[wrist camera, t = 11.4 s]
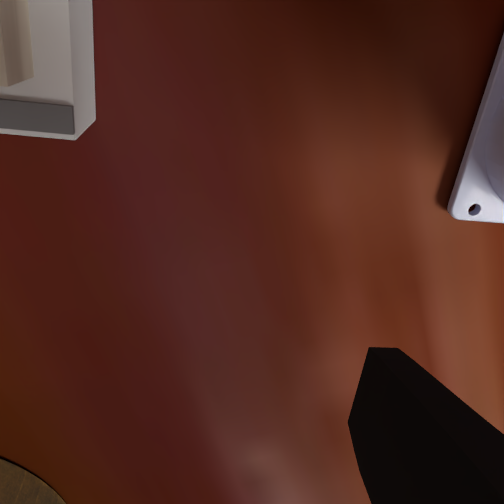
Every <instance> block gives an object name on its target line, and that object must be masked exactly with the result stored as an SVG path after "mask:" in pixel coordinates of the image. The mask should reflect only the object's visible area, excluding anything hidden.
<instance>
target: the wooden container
mask: <svg viewBox="0 0 504 504" xmlns="http://www.w3.org/2000/svg"><path fill="white" fill-rule="evenodd" d="M0 504H66V503H65V502H64V501H63V500H62V498H61V497H60V496H59V495H58V494H57V493H56V492H55V491H54V490H53V489H52V488H51V487H49V486H48V485H47V484H46V483H44V482H43V481H42V480H40V479H39V478H37V477H36V476H34V475H33V474H31V473H29V472H28V471H26V470H24V469H22V468H20V467H18V466H16V465H14V464H12V463H9V462H7V461H5V460H2V459H0Z"/></svg>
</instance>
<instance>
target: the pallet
mask: <svg viewBox="0 0 504 504" xmlns="http://www.w3.org/2000/svg"><path fill="white" fill-rule="evenodd" d="M33 77H34V69H33V57H32V45H31V33H30V21H29V9H28V0H0V86H4V87H9V86H12V85H14V84H17V83H20V82H22V81H25V80H28V79H30V78H33Z"/></svg>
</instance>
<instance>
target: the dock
mask: <svg viewBox="0 0 504 504" xmlns="http://www.w3.org/2000/svg"><path fill="white" fill-rule="evenodd" d="M28 9H29V21H30V33H31V45H32V57H33V69H34V77H33V78H30V79H28V80H25V81H22V82H20V83H17V84H14V85H12V86H9V87H4V86H0V133H3V134H14V135H24V136H35V137H46V138H57V139H68V140H76V139H77V138H78V137H79V136H80V135H81V134H82V133H83V132H84V131H85V130H86V129H87V128H88V127H89V126H90V125H91V124H92V123H93V122H94V121H95V120H96V112H95V79H94V46H93V13H92V0H28Z"/></svg>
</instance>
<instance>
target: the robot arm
mask: <svg viewBox="0 0 504 504" xmlns="http://www.w3.org/2000/svg"><path fill="white" fill-rule="evenodd" d="M473 204H476V207H475V209H474V210H473V211H471V212H468V209H469V208H470V206H472V205H473ZM447 210H448V213H449V214H450V215H451V216H452V217H453V218H455V219H458V220H468V221H481V222H494V223H504V33H503V37H502V40H501V43H500V46H499V49H498V52H497V55H496V58H495V61H494V64H493V67H492V70H491V73H490V77H489V80H488V83H487V86H486V89H485V92H484V95H483V98H482V101H481V104H480V107H479V110H478V113H477V117H476V120H475V123H474V126H473V129H472V132H471V135H470V138H469V141H468V144H467V147H466V150H465V153H464V157H463V160H462V163H461V166H460V169H459V172H458V175H457V178H456V181H455V184H454V187H453V190H452V193H451V197H450V200H449V203H448V207H447ZM348 426H349V430H350V434H351V439H352V443H353V447H354V451H355V455H356V459H357V463H358V467H359V471H360V474H361V476H362V479H363V482H364V485H365V487H366V490H367V493H368V495H369V498H370V501H371V503H372V504H504V434H503V433H501V432H500V431H499V430H497V429H496V428H495V427H494V426H492V425H491V424H490V423H489V422H487V421H486V420H485V419H484V418H483V417H481V416H480V415H479V414H478V413H476V412H475V411H474V410H473V409H472V408H470V407H469V406H468V405H467V404H466V403H464V402H463V401H462V400H461V399H460V398H458V397H457V396H456V395H455V394H454V393H452V392H451V391H450V390H449V389H448V388H446V387H445V386H444V385H443V384H442V383H440V382H439V381H438V380H437V379H436V378H434V377H433V376H432V375H431V374H430V373H429V372H427V371H426V370H425V369H424V368H422V367H421V366H420V365H419V364H418V363H416V362H415V361H414V360H413V359H411V358H410V357H409V356H408V355H406V354H405V353H404V352H402V351H401V350H400V349H398V348H380V347H369V349H368V352H367V356H366V359H365V363H364V366H363V370H362V374H361V377H360V381H359V384H358V388H357V391H356V395H355V398H354V402H353V405H352V409H351V412H350V416H349V419H348Z"/></svg>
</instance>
